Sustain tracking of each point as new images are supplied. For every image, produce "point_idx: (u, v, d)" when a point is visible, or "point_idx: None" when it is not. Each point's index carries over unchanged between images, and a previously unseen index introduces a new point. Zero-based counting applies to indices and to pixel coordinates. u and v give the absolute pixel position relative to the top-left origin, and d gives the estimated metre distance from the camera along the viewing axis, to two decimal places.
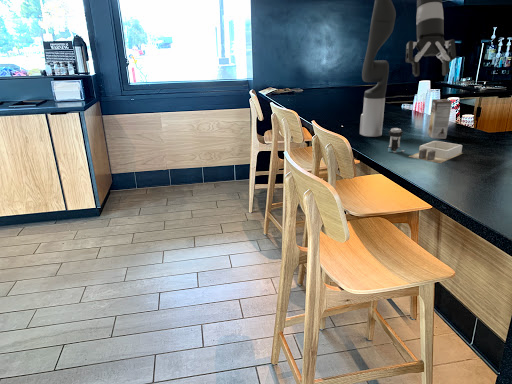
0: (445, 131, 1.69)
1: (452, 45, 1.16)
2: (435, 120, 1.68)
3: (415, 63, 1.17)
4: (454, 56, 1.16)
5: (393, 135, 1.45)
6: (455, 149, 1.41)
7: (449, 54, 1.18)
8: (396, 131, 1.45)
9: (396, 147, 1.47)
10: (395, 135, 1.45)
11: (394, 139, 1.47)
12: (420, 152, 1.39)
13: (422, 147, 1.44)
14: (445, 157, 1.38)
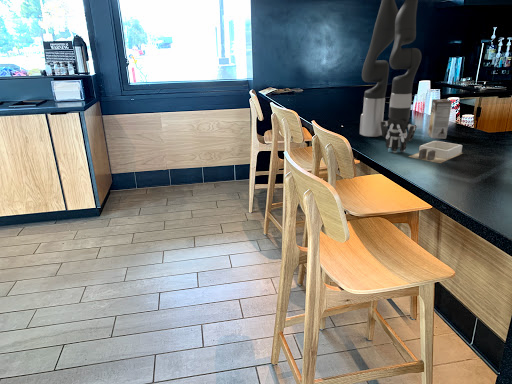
0: (445, 131, 1.69)
1: (409, 131, 1.42)
2: (435, 120, 1.68)
3: (387, 139, 1.50)
4: (407, 139, 1.43)
5: (393, 135, 1.45)
6: (455, 149, 1.41)
7: None
8: (396, 131, 1.45)
9: (396, 147, 1.47)
10: (395, 135, 1.45)
11: (394, 139, 1.47)
12: (420, 152, 1.39)
13: (422, 147, 1.44)
14: (445, 157, 1.38)
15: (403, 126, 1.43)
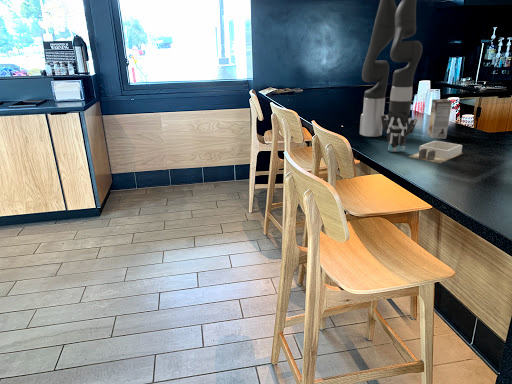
0: (445, 131, 1.69)
1: (410, 124, 1.41)
2: (435, 120, 1.68)
3: (388, 133, 1.49)
4: (407, 133, 1.43)
5: (394, 132, 1.44)
6: (455, 149, 1.41)
7: None
8: (397, 128, 1.44)
9: (397, 144, 1.47)
10: (396, 132, 1.44)
11: (395, 136, 1.46)
12: (420, 152, 1.39)
13: (422, 147, 1.44)
14: (445, 157, 1.38)
15: (404, 120, 1.42)
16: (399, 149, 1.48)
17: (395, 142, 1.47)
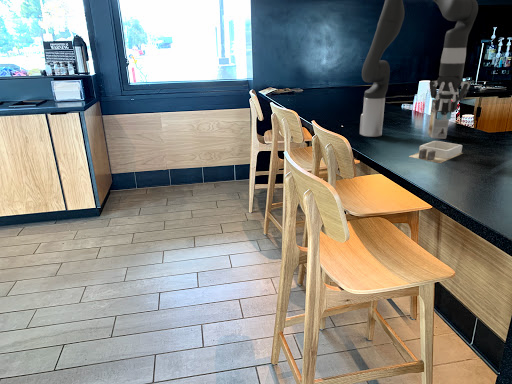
0: (445, 131, 1.69)
1: (463, 89, 1.32)
2: (435, 120, 1.68)
3: (437, 100, 1.40)
4: (459, 98, 1.33)
5: (445, 97, 1.35)
6: (455, 149, 1.41)
7: None
8: (448, 93, 1.35)
9: (447, 111, 1.38)
10: (447, 97, 1.35)
11: (445, 102, 1.37)
12: (420, 152, 1.39)
13: (422, 147, 1.44)
14: (445, 157, 1.38)
15: (456, 84, 1.33)
16: (449, 117, 1.39)
17: (445, 109, 1.38)
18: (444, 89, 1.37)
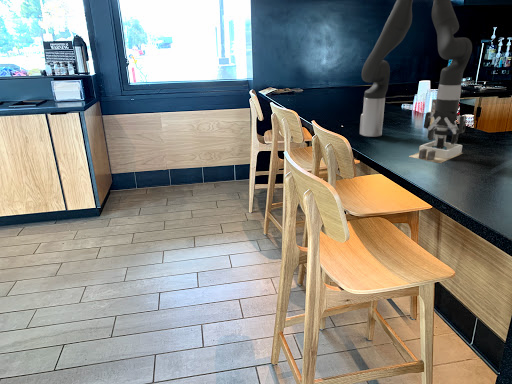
0: None
1: (460, 121, 1.36)
2: None
3: (429, 130, 1.46)
4: (460, 131, 1.36)
5: (440, 133, 1.40)
6: (455, 149, 1.41)
7: None
8: (443, 129, 1.40)
9: (442, 146, 1.43)
10: (442, 133, 1.40)
11: (440, 138, 1.42)
12: (420, 152, 1.39)
13: (422, 147, 1.44)
14: (445, 157, 1.38)
15: (451, 118, 1.38)
16: None
17: (440, 144, 1.43)
18: (438, 123, 1.42)
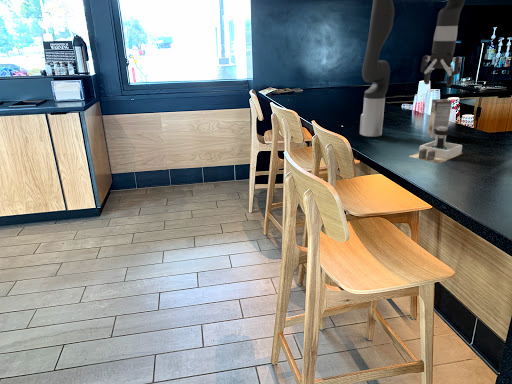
0: None
1: (456, 62, 1.39)
2: (435, 120, 1.68)
3: (425, 74, 1.49)
4: (455, 72, 1.40)
5: (440, 133, 1.40)
6: (455, 149, 1.41)
7: None
8: (443, 129, 1.40)
9: (442, 146, 1.43)
10: (442, 133, 1.40)
11: (440, 138, 1.42)
12: (420, 152, 1.39)
13: (422, 147, 1.44)
14: (445, 157, 1.38)
15: (447, 59, 1.41)
16: None
17: (440, 144, 1.43)
18: (434, 66, 1.45)
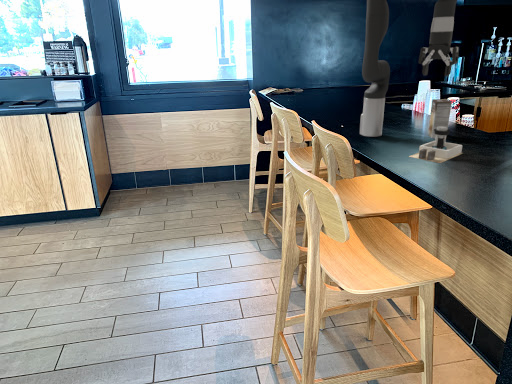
0: None
1: (453, 52, 1.42)
2: (435, 120, 1.68)
3: (424, 65, 1.52)
4: (453, 62, 1.43)
5: (440, 133, 1.40)
6: (455, 149, 1.41)
7: None
8: (443, 129, 1.40)
9: (442, 146, 1.43)
10: (442, 133, 1.40)
11: (440, 138, 1.42)
12: (420, 152, 1.39)
13: (422, 147, 1.44)
14: (445, 157, 1.38)
15: (445, 50, 1.44)
16: None
17: (440, 144, 1.43)
18: (432, 57, 1.48)
